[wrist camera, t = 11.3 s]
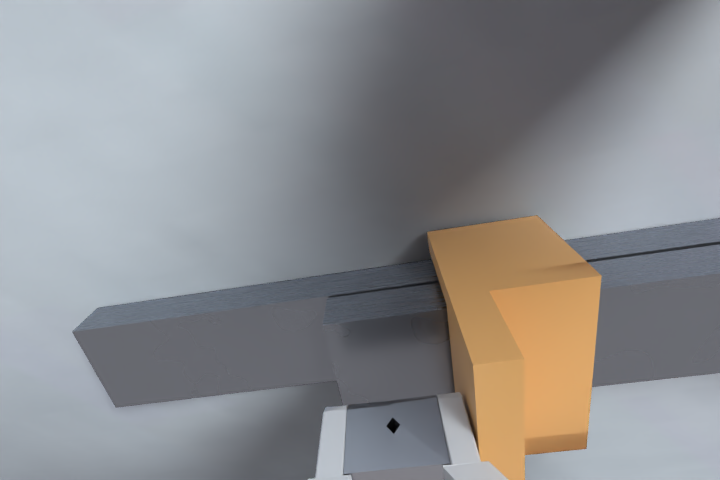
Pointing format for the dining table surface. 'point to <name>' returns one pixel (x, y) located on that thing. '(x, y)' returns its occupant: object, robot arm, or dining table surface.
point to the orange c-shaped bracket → (519, 336)
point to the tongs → (277, 325)
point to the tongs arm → (613, 339)
